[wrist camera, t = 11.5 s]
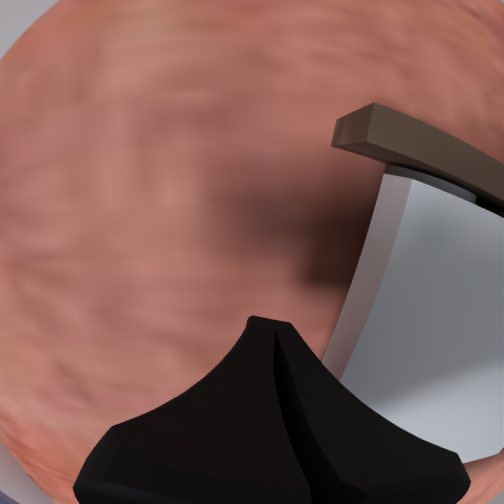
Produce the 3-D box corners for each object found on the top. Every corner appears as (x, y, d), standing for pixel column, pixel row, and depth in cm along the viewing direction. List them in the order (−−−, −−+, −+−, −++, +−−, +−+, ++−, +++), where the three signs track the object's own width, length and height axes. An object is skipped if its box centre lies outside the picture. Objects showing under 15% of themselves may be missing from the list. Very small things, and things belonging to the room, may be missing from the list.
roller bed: (517, 407, 17) (539, 436, 13) (255, 408, 17) (252, 470, 12) (591, 250, 13) (626, 268, 8) (336, 119, 12) (374, 102, 7)
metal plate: (485, 433, 13) (497, 453, 11) (283, 443, 12) (285, 477, 10) (577, 263, 9) (599, 275, 7) (383, 173, 9) (412, 179, 7)
